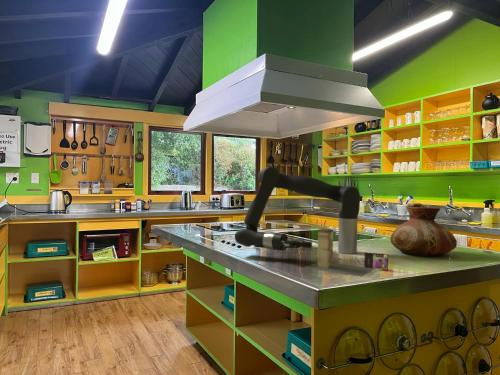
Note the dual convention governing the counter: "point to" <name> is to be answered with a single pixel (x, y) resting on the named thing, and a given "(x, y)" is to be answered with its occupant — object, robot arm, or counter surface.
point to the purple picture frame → (379, 262)
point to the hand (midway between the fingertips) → (311, 245)
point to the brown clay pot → (423, 233)
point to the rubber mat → (342, 269)
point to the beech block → (325, 248)
